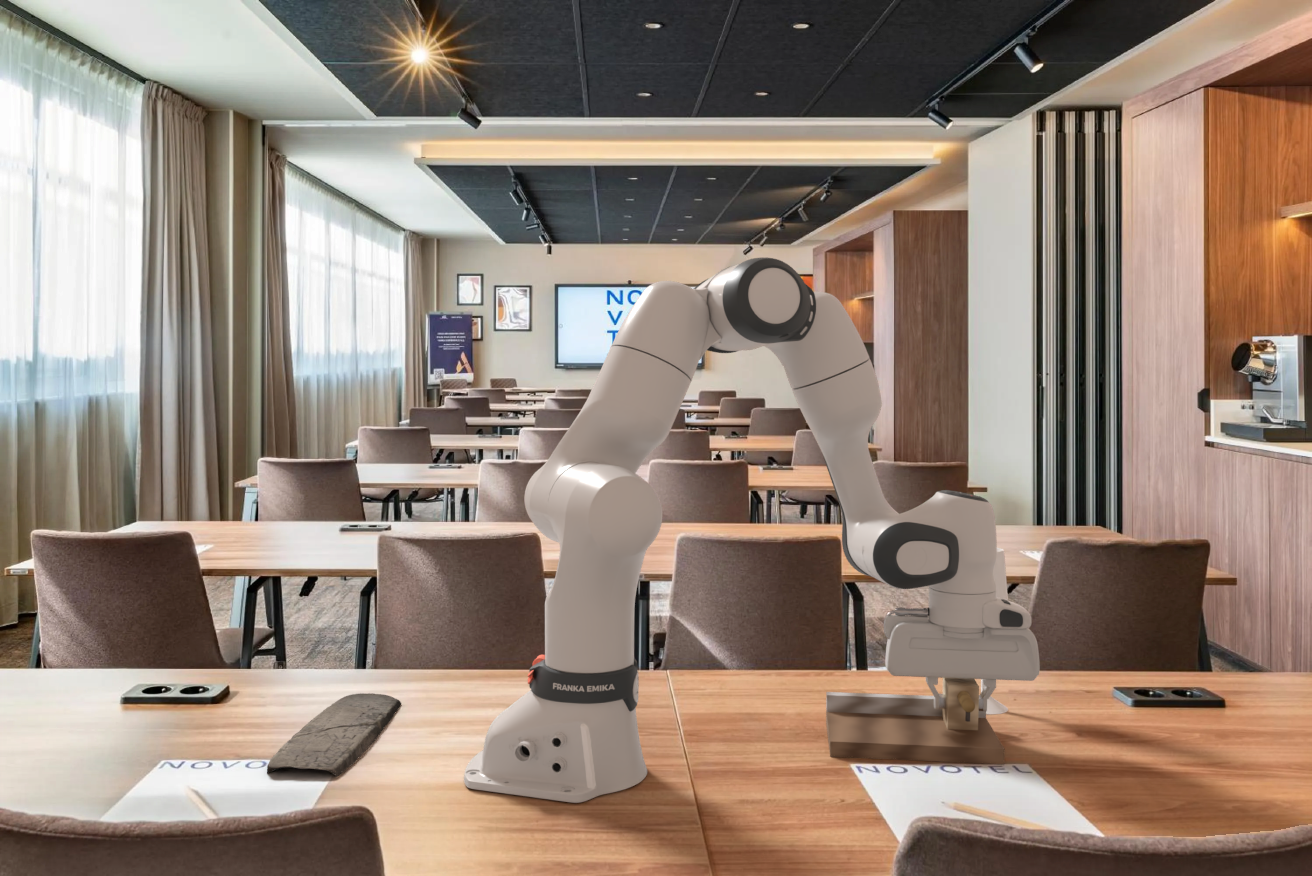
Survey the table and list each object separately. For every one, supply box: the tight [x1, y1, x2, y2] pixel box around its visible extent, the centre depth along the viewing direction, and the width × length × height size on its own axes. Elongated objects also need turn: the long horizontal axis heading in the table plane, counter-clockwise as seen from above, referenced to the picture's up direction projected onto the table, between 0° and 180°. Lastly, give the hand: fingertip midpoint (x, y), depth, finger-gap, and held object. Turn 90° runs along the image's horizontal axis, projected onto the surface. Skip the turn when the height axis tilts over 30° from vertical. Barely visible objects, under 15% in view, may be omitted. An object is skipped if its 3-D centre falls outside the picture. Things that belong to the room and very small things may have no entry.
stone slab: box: [266, 692, 402, 778], centre depth 143 cm, size 10×3×30 cm
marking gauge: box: [942, 678, 980, 730], centre depth 140 cm, size 4×9×6 cm, turn 173°
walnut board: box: [825, 691, 1005, 765], centre depth 141 cm, size 22×14×4 cm, turn 83°
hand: (960, 709), depth 142 cm, fingers closed on marking gauge, 4 cm apart
